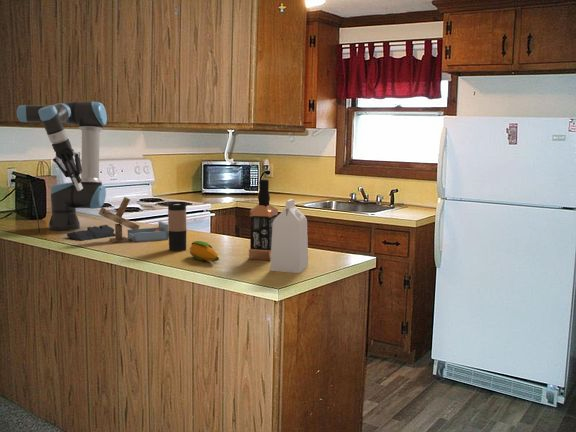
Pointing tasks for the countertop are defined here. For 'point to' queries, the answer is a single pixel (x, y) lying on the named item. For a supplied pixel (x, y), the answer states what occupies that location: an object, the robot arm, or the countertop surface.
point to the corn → (203, 251)
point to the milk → (289, 240)
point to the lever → (120, 215)
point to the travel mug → (177, 226)
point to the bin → (149, 233)
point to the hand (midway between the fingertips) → (80, 189)
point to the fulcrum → (118, 235)
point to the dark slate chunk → (92, 233)
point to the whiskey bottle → (262, 225)
